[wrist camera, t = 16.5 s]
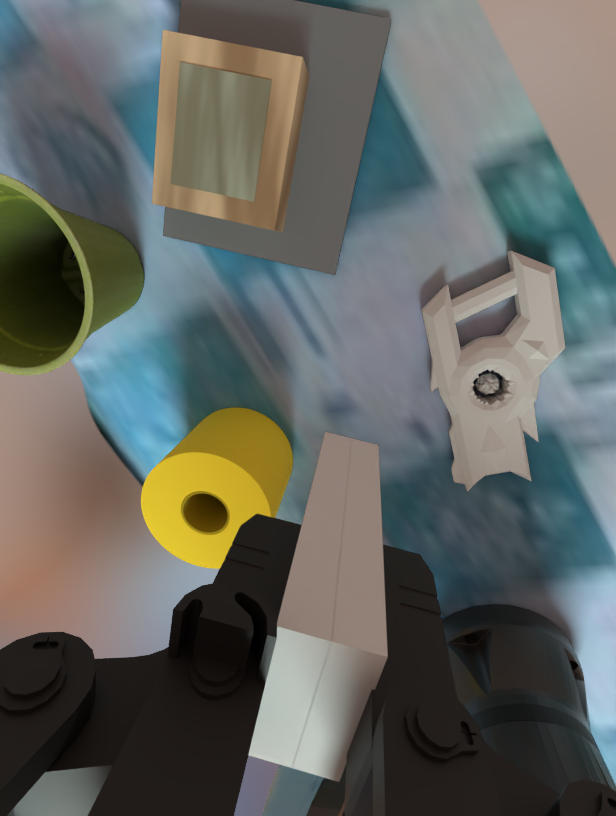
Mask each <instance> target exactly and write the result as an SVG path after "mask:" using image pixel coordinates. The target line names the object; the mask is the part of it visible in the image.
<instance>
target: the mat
mask: <svg viewBox="0 0 616 816" xmlns="http://www.w3.org/2000/svg"><path fill="white" fill-rule="evenodd" d="M390 25H391V19H390V18H384V17H379V16H374V15H369V14H364V13H358V12H353V11H348V10H343V9H337V8H332V7H327V6H322V5H317V4H311V3H306V2H301V1H296V0H181V8H180V21H179V33H182V34H187V35H193V36H198V37H203V38H208V39H213V40H218V41H223V42H228V43H234V44H239V45H244V46H249V47H254V48H259V49H264V50H269V51H275V52H280V53H285V54H290V55H295V56H300V57H303V59H304V62H305V65H306V68H307V71H308V74H309V81H308V86H307V92H306V98H305V104H304V110H303V116H302V122H301V128H300V134H299V140H298V146H297V152H296V157H295V163H294V169H293V175H292V181H291V187H290V193H289V199H288V205H287V211H286V217H285V222H284V228H283V232H279V231H274V230H269V229H265V228H260V227H256V226H251V225H247V224H242V223H238V222H233V221H228V220H224V219H219V218H215V217H210V216H206V215H201V214H197V213H192V212H188V211H183V210H178V209H174V208H169V207H165V217H164V230H163V236H166V237H171V238H175V239H180V240H184V241H188V242H193V243H197V244H201V245H206V246H210V247H215V248H219V249H223V250H228V251H232V252H237V253H241V254H245V255H250V256H254V257H259V258H263V259H267V260H272V261H276V262H281V263H285V264H289V265H294V266H298V267H303V268H307V269H311V270H316V271H320V272H325V273H329V274H333V275H335V274H336V269H337V265H338V260H339V256H340V251H341V247H342V242H343V238H344V233H345V229H346V224H347V219H348V215H349V210H350V206H351V201H352V197H353V192H354V188H355V183H356V179H357V174H358V170H359V165H360V161H361V156H362V152H363V147H364V143H365V138H366V134H367V129H368V125H369V120H370V116H371V111H372V107H373V102H374V98H375V93H376V89H377V84H378V80H379V75H380V71H381V66H382V62H383V57H384V53H385V48H386V44H387V39H388V34H389V30H390Z"/></svg>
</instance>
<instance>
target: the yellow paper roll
mask: <svg viewBox="0 0 616 816" xmlns="http://www.w3.org/2000/svg"><path fill="white" fill-rule="evenodd" d="M292 468H293V454H292V449H291V446H290V443H289V441H288V439H287V437H286V435H285V434H284V432H283V431H282V430H281V429H280V427H279V426H278V425H277V424H276V423H275V422H273V421H272V420H271V419H270V418H268V417H266V416H265V415H263V414H261V413H259V412H257V411H254V410H251V409H246V408H238V407H233V408H225V409H221V410H218V411H215V412H213V413H211V414H210V415H208V416H207V417H205V418H204V419H203V420H202V421H201V422H200V423H199V424H198V425H197V426H196V427H195V428H194V429H193V430H192V431H191V432H190V433H189V434H188V435H187V436H186V437H185V438H184V439H183V440H182V441H181V442H180V443H179V444H178V445H177V446H176V447H175V448H174V449H173V450H172V451H171V452H170V453H169V454H168V455H167V456H166V457H165V458H164V459H163V460H162V461H161V462H160V463H159V464H158V465H157V466H156V467H155V468H154V469H153V470H152V471H151V472H150V473H149V475H148V476H147V478H146V480H145V482H144V485H143V489H142V494H141V507H142V512H143V516H144V519H145V522H146V524H147V526H148V528H149V530H150V531H151V533H152V534H153V536H154V537H155V538H156V540H157V541H158V542H159V543H160V544H161V545H162V546H163V547H164V548H165V549H166V550H168V551H169V552H170V553H172V554H173V555H175V556H176V557H178V558H180V559H181V560H183V561H186V562H188V563H191V564H194V565H197V566H201V567H205V568H217V569H219V568H220V567H221V565H222V563H223V561H224V560H225V557H226V555H227V553H228V551H229V549H230V547H231V546H232V542H233V540H234V538H235V536H236V534H237V532H238V530H239V528H240V526H241V525H242V524H243V523H245V522H246V521H247V520H249V519H250V518H251V517H253V516H254V515H255V514H261V515H265V516H269V517H273V518H275V517H276V514H277V511H278V509H279V506H280V503H281V500H282V497H283V495H284V492H285V489H286V486H287V484H288V481H289V478H290V475H291V472H292Z"/></svg>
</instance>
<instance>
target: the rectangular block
mask: <svg viewBox="0 0 616 816" xmlns="http://www.w3.org/2000/svg"><path fill="white" fill-rule="evenodd" d="M308 81H309V74H308V71H307V68H306V65H305V62H304V59H303V57H300V56H295V55H290V54H285V53H280V52H275V51H269V50H264V49H259V48H254V47H249V46H244V45H239V44H234V43H228V42H223V41H218V40H213V39H208V38H203V37H198V36H193V35H187V34H182V33H177V32H172V31H167V30H163V37H162V53H161V69H160V84H159V100H158V116H157V132H156V148H155V164H154V179H153V195H152V204H157V205H161V206H165V207H169V208H174V209H178V210H183V211H188V212H192V213H197V214H201V215H206V216H210V217H215V218H219V219H224V220H228V221H233V222H238V223H242V224H247V225H251V226H256V227H260V228H265V229H269V230H274V231H279V232H283V228H284V222H285V217H286V211H287V205H288V199H289V193H290V187H291V181H292V175H293V169H294V163H295V157H296V152H297V146H298V140H299V134H300V128H301V122H302V116H303V110H304V104H305V98H306V92H307V86H308Z"/></svg>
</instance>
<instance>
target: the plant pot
mask: <svg viewBox="0 0 616 816" xmlns="http://www.w3.org/2000/svg"><path fill="white" fill-rule="evenodd" d="M73 251H74V253H75V255H76V257H75V261H74V260H73V259H72V258H71V257H72V253H73ZM143 284H144V272H143V269H142V266H141V263H140V260H139V256H138V253H137V251H136V250H135V248H134V247H133V245H132V244H131V243H130V242H129V240H128V239H126V238H125V237H124V236H123V235H122V234H121V233H119V232H118V231H116V230H114V229H112V228H109V227H106V226H104V225H101V224H99V223H96V222H94V221H91V220H88V219H85V218H83V217H80V216H78V215H75V214H72V213H70V212H67V211H64V210H61V209H59V208H57V207H56V206H54V205H52V204H51V203H49V202H48V201H47V200H46V199H44V198H43V197H42V196H41V195H40V194H38V193H37V192H36V191H34V190H33V189H31V188H30V187H28V186H27V185H25V184H23V183H22V182H20V181H18V180H16V179H13V178H11V177H9V176H6V175H3V174H0V371H3V372H6V373H10V374H17V375H37V374H43V373H46V372H49V371H52V370H54V369H56V368H58V367H60V366H62V365H63V364H65V363H66V362H68V361H69V360H70V359H71V358H72V357H73V356H74V355H75V354H76V353H77V352H78V351H79V349H80V348H81V347H82V345H83V343H84V342H85V340H86V339H87V338H88V337H89V336H90V335H91V334H92V333H93V332H95V331H96V330H98V329H99V328H101V327H102V326H104V325H106V324H107V323H109V322H110V321H112V320H113V319H115V318H117V317H118V316H120V315H121V314H123V313H124V312H126V311H127V310H129V309H130V308H131V307H132V306H134V304H135V303H136V302H137V301H138V299H139V298H140V295H141V293H142V289H143ZM83 291H85V295H84V294H83Z"/></svg>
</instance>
